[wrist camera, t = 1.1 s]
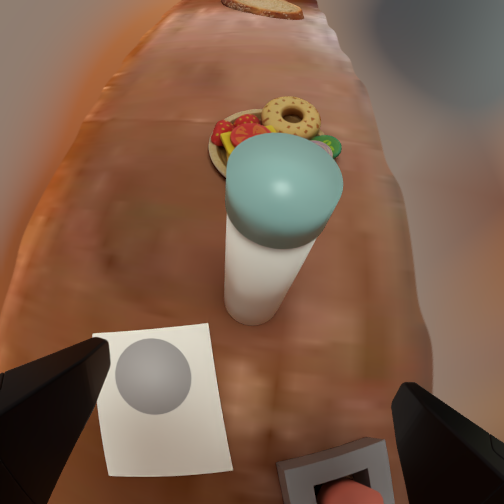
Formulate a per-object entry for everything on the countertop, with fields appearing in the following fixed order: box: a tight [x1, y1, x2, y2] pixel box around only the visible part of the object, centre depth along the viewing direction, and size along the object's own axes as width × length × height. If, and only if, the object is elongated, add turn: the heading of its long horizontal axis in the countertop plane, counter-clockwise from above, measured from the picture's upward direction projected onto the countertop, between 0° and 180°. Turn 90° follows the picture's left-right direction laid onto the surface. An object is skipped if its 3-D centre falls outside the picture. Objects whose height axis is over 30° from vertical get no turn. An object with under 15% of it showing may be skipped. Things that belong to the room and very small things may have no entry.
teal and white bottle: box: [224, 133, 343, 326], centre depth 17 cm, size 4×4×14 cm
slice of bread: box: [221, 0, 304, 20], centre depth 55 cm, size 18×18×4 cm
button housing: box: [276, 437, 395, 504], centre depth 16 cm, size 7×7×3 cm
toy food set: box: [209, 96, 342, 178], centre depth 30 cm, size 13×13×3 cm
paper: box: [93, 323, 233, 477], centre depth 19 cm, size 11×9×1 cm
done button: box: [317, 477, 384, 504], centre depth 14 cm, size 3×3×4 cm
